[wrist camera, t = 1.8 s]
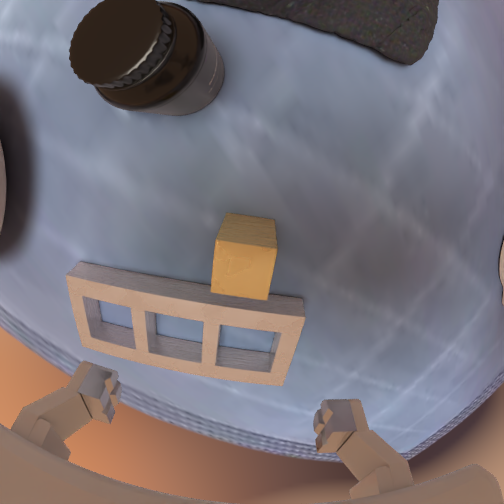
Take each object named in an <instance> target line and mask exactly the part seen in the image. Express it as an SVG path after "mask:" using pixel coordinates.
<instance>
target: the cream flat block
mask: <svg viewBox="0 0 504 504" xmlns="http://www.w3.org/2000/svg"><path fill="white" fill-rule="evenodd" d="M66 280H67V285H68V290H69V295H70V299H71V304H72V308H73V313H74V317H75V321H76V325H77V328H78V332H79V336H80V339H81V343H82V346H83V347H86V348H90V349H93V350H96V351H99V352H102V353H106V354H109V355H113V356H116V357H120V358H124V359H127V360H131V361H135V362H139V363H143V364H147V365H151V366H156V367H160V368H165V369H169V370H174V371H179V372H184V373H189V374H195V375H200V376H206V377H212V378H218V379H225V380H232V381H240V382H247V383H256V384H266V385H276V386H283V383H284V380H285V377H286V375H287V372H288V369H289V366H290V363H291V360H292V358H293V355H294V352H295V349H296V346H297V343H298V340H299V337H300V334H301V331H302V328H303V325H304V321H305V318H306V316H305V311H304V306H303V301H302V298H295V297H287V296H280V295H272V294H268V298H267V301H266V300H259V299H252V298H245V297H238V296H231V295H225V294H219V293H212V292H211V285H205V284H199V283H193V282H187V281H181V280H175V279H169V278H164V277H158V276H152V275H147V274H142V273H136V272H131V271H126V270H120V269H115V268H110V267H105V266H100V265H95V264H90V263H86V262H81V261H80V262H79V263H78V264H77V265H76V266H75V267H74V268H73V269H72V270H71V271H69V272H68V273H67V274H66ZM98 300H101V301H105V302H109V303H114V304H118V305H122V306H127V307H131V313H132V322H133V329H130V328H126V327H122V326H118V325H114V324H110V323H106V322H103V321H102V318H101V313H100V308H99V302H98ZM155 313H160V314H165V315H170V316H175V317H180V318H186V319H191V320H197V321H203V322H204V327H203V343H198V342H192V341H187V340H182V339H176V338H171V337H166V336H161V335H157V331H156V315H155ZM221 324H222V325H228V326H235V327H242V328H249V329H256V330H264V331H272V332H275V336H274V340H273V343H272V347H271V351H270V353H267V352H258V351H250V350H243V349H236V348H229V347H222V346H219V339H220V330H221Z"/></svg>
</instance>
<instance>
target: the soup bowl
mask: <svg viewBox="0 0 504 504" xmlns="http://www.w3.org/2000/svg"><path fill="white" fill-rule="evenodd" d="M5 205H6V170H5V161H4V155H3V149H2V145H1V141H0V233H1V229H2V224H3V219H4V213H5Z"/></svg>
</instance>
